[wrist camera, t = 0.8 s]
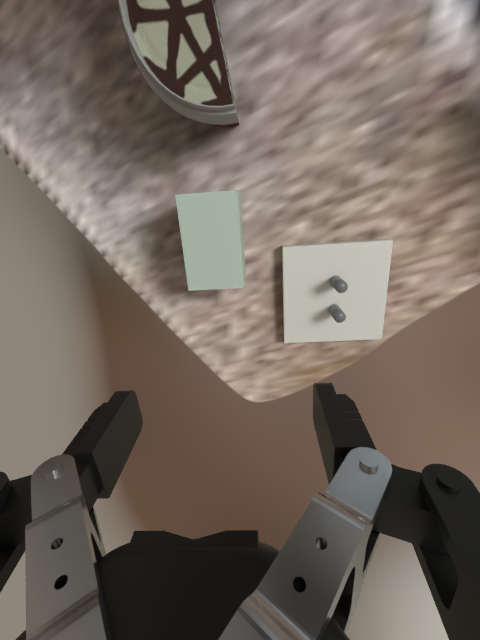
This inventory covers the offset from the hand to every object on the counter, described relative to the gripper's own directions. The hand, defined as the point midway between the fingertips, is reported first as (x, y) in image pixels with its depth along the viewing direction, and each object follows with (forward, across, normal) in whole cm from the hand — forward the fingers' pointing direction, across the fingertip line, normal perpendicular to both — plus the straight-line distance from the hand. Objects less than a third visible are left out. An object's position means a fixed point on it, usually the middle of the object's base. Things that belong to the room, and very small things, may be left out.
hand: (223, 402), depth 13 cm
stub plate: (+22, -10, +3) cm, 24 cm away
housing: (+22, +2, -5) cm, 22 cm away
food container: (+23, +3, -19) cm, 29 cm away
